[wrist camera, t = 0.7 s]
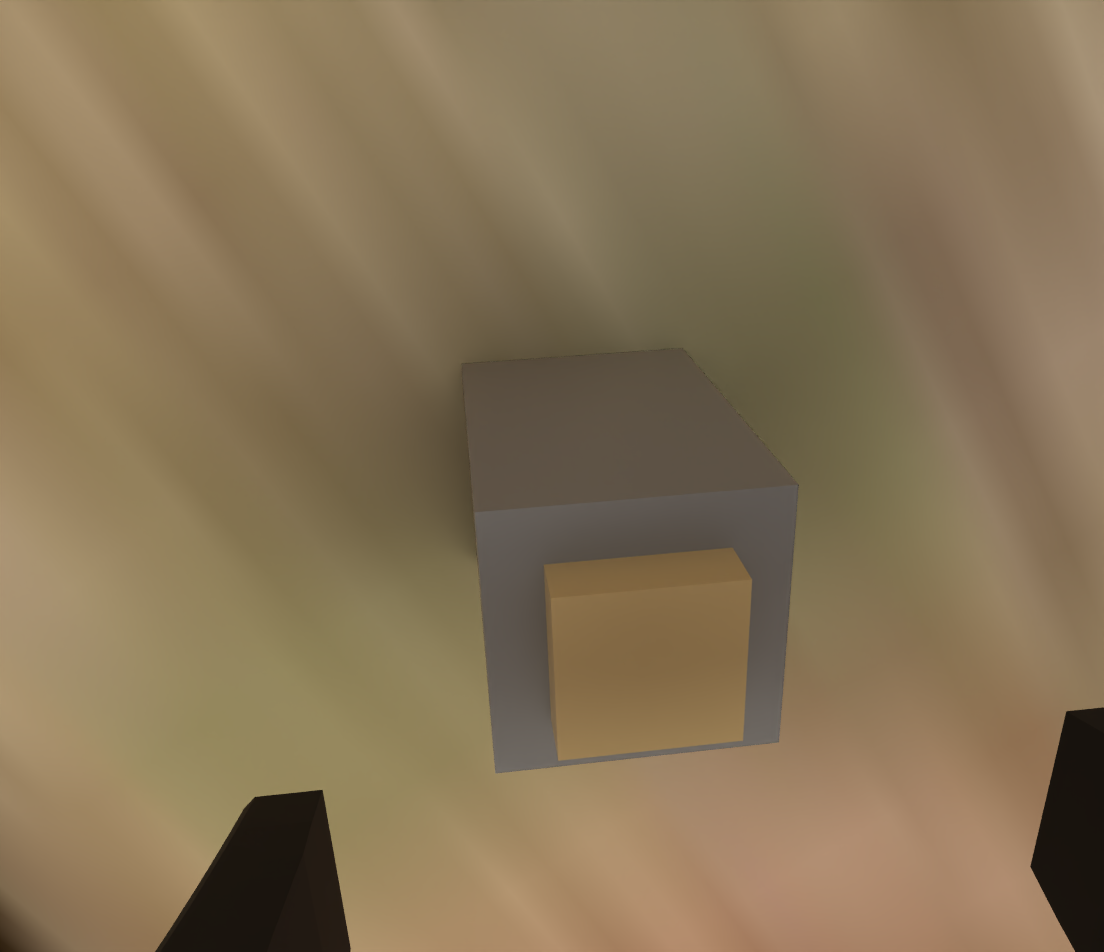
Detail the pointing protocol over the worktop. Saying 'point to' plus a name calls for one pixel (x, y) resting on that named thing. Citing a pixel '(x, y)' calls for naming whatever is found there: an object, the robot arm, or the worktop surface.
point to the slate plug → (625, 559)
